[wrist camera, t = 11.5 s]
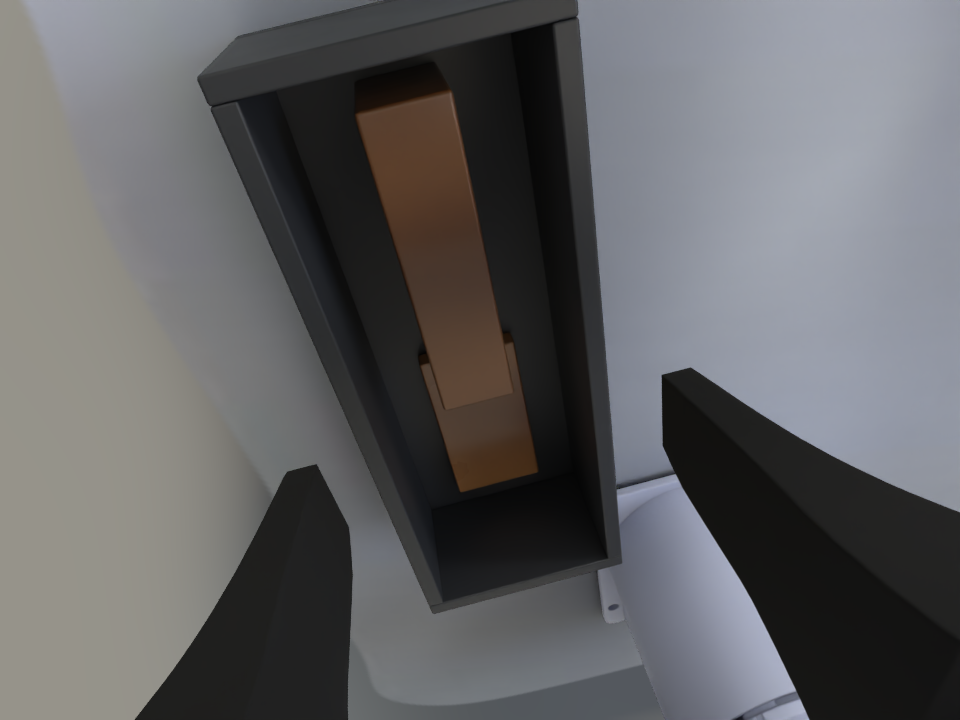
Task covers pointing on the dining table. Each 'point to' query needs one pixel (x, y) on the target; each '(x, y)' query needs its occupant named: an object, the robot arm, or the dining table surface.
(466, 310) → the notched wooden bar
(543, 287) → the tub
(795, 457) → the robot arm
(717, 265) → the dining table surface
